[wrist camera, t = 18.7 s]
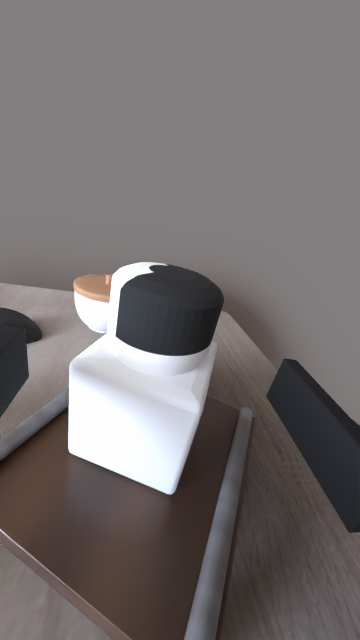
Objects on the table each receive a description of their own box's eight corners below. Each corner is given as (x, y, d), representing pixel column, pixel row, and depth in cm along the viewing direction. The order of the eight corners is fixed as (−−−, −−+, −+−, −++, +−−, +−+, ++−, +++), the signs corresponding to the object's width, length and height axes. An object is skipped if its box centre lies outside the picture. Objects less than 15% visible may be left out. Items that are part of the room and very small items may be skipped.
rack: (239, 451, 25) (259, 408, 22) (182, 730, 11) (220, 701, 8) (114, 388, 29) (118, 346, 26) (-41, 529, 15) (-63, 469, 13)
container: (196, 411, 22) (240, 276, 16) (173, 499, 15) (236, 314, 9) (120, 384, 23) (137, 249, 17) (65, 453, 16) (66, 264, 10)
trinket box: (135, 343, 39) (143, 290, 35) (65, 337, 36) (65, 279, 33) (135, 315, 48) (141, 271, 45) (79, 309, 46) (81, 261, 42)
